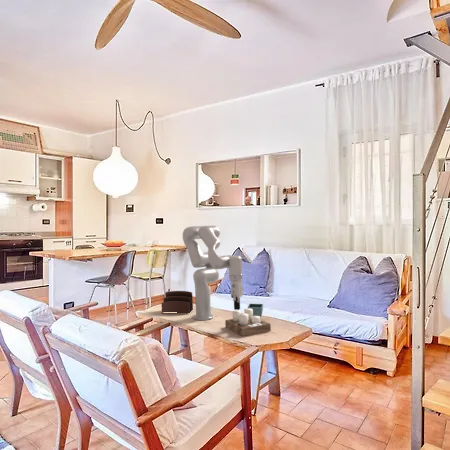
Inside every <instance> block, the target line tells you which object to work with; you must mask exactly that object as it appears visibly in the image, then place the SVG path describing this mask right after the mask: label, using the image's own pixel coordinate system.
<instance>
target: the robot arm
mask: <svg viewBox="0 0 450 450" xmlns="http://www.w3.org/2000/svg"><path fill="white" fill-rule="evenodd" d="M220 235H221V232H220V229H219V227H218V226H216V225H201V226H200V225H197V226H196V225H195V226H188V227H187V226H186V228H184V230H183V232H182V240H183V241H182V242H183V244H184V246H185V247H186V250H187V253H188V256H189V260H190V262H191V265H192V267H193V268H196V269H197V270H195V271H194V272H193V274H192V275H193V276H192V277H193V282H194V290H195V292H194V293H195V314H194V315H193V319H194V320H195V321H207V320H212V319H213V318H214V315H213V314H212V309H211V289H210V287H209V283H214V282H217V281H218V279H219V278H220V275H219V274H220V273H219V270H223V269H228V276H229V281H230V298H231V299H232V301H233V309H234V310H233V311H235V310H239V311H240V309H241V298H242V297H243V296H244V291H243V289H244V288H243V262H242V261H243V259H242V257H241V256H240V255H239V256H238V255H233V254H230V255H229V254H228V255H220V256H219V255H218V253H217V252H216V250H218V248H220V245H221V241H220V239H219V237H220ZM200 239H201V240H202V242H203V243H204V245H205V246H206V247H207V251H206V252H202V249H201V246H200V244H199V243H198V242H197V241H196V240H200ZM199 268H200V269H199Z"/></svg>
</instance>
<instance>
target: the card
mask: <svg viewBox="0 0 450 450" xmlns="http://www.w3.org/2000/svg"><path fill="white" fill-rule="evenodd" d="M261 325H262V324H259V323H255V324H250V325H248V326H250V327H255V326H261Z"/></svg>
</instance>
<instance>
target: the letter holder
mask: <svg viewBox="0 0 450 450" xmlns="http://www.w3.org/2000/svg"><path fill="white" fill-rule="evenodd" d="M164 296H165V297H163V300H162V302H161V313H162V312H177V313H190V312H191V311H192V310H193V311H194V303H193V302H194V301H193V300H194V299H193V292H192V291H187V290H171V291H165V293H164ZM193 311H192V312H193ZM192 312H191V313H192ZM191 313H190V314H191Z"/></svg>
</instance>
